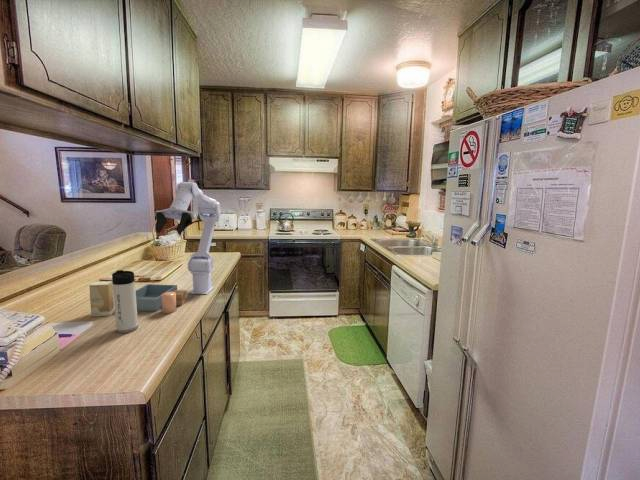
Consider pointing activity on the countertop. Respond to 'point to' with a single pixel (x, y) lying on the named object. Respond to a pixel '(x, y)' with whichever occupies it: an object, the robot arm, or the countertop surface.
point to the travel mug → (125, 301)
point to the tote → (152, 296)
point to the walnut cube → (181, 297)
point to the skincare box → (101, 298)
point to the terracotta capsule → (168, 302)
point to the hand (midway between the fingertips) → (168, 231)
